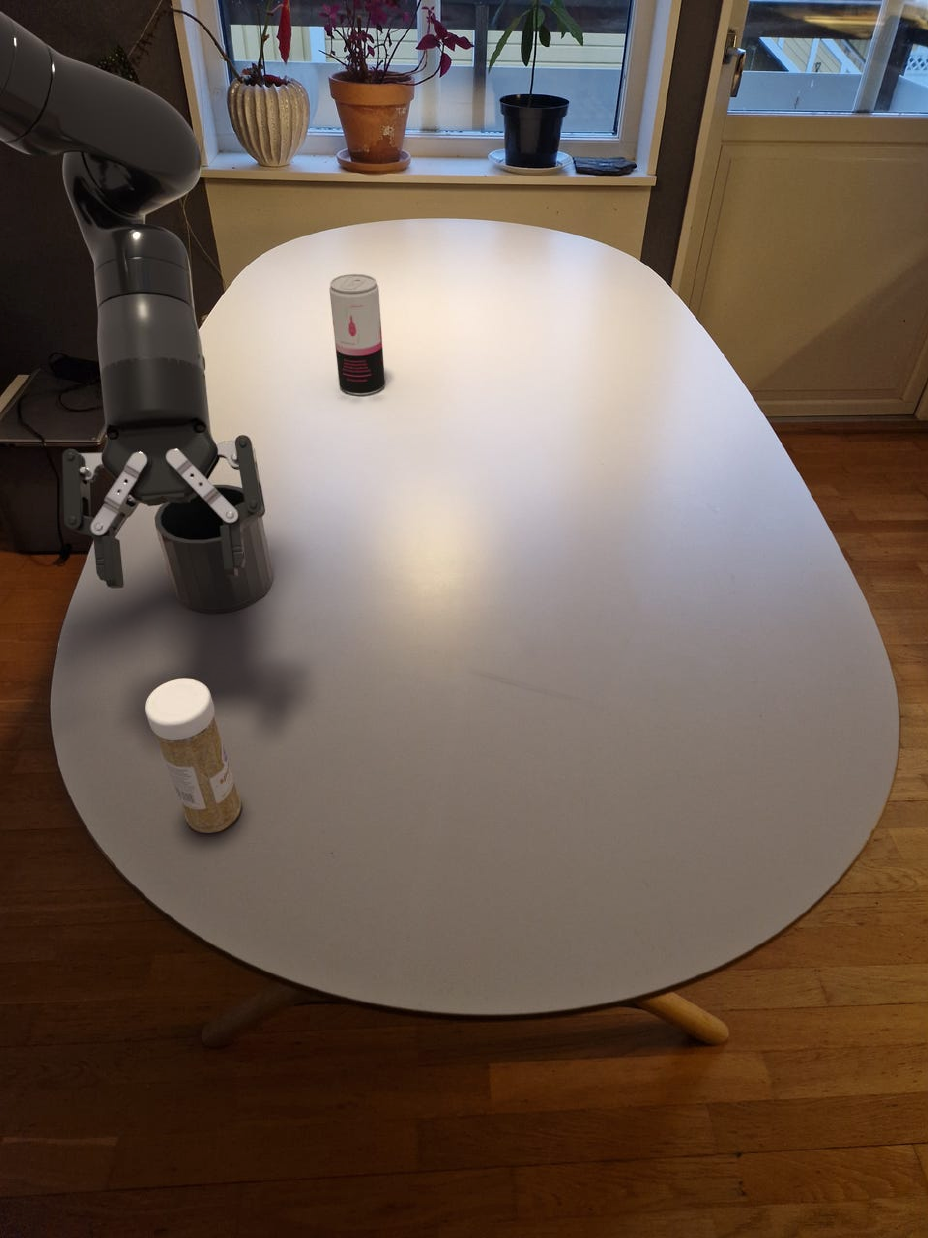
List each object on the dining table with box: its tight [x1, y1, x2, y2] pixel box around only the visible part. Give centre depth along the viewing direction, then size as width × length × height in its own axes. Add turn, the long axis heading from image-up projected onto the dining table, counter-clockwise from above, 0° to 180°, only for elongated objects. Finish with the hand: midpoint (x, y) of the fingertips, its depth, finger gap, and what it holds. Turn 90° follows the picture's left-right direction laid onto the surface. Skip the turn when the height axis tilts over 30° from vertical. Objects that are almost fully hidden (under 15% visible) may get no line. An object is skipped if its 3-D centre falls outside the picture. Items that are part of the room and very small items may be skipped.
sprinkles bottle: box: [144, 677, 242, 834], centre depth 65 cm, size 5×5×13 cm
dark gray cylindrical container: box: [154, 484, 274, 615], centre depth 89 cm, size 10×10×9 cm
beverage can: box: [329, 273, 386, 396], centre depth 120 cm, size 7×7×15 cm
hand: (174, 581), depth 65 cm, fingers open, 8 cm apart
